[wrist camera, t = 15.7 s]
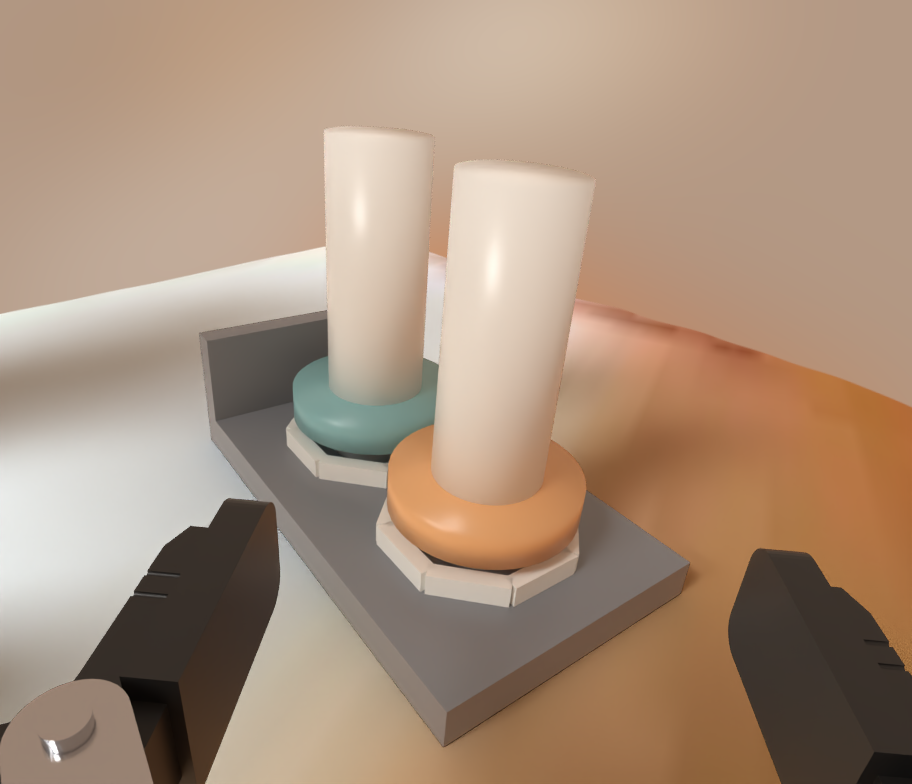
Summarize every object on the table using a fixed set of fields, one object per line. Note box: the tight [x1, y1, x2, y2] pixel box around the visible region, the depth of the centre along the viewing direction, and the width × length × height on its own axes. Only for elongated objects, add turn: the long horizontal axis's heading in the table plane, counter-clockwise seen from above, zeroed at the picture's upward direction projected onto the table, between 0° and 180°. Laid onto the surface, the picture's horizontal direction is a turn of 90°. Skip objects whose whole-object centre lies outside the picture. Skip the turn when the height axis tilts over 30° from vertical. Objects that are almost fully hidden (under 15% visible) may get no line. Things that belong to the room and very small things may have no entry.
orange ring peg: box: [387, 160, 596, 570], centre depth 22 cm, size 7×7×13 cm
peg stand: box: [199, 126, 690, 747], centre depth 25 cm, size 19×11×14 cm, turn 37°
